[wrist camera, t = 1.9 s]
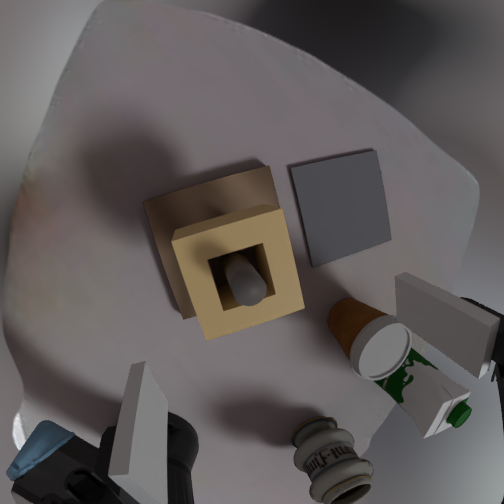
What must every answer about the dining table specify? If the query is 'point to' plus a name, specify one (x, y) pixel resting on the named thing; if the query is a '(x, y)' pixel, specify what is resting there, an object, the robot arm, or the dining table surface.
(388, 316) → the disposable coffee cup
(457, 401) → the milk carton
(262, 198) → the stand
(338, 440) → the apothecary jar
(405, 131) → the dining table surface
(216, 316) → the collar
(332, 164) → the mat
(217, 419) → the dining table surface
